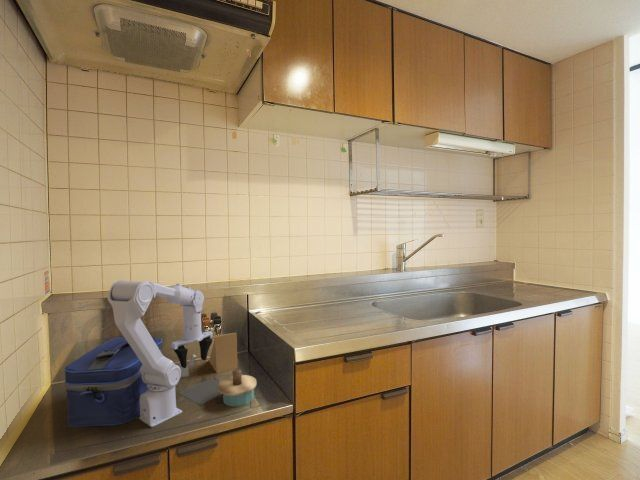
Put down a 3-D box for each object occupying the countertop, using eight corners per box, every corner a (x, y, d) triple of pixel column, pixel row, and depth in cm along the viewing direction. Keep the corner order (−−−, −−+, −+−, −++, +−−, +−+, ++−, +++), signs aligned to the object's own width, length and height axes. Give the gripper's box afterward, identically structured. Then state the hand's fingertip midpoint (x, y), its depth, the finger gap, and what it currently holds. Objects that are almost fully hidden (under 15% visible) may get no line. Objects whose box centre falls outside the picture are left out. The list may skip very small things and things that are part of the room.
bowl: (236, 410, 104) (236, 396, 104) (217, 401, 110) (216, 388, 110) (259, 397, 112) (259, 384, 112) (240, 389, 117) (240, 376, 117)
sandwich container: (228, 356, 148) (227, 322, 147) (238, 369, 134) (237, 332, 134) (208, 361, 143) (206, 326, 143) (216, 374, 130) (214, 336, 129)
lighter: (177, 379, 127) (176, 358, 126) (176, 377, 128) (176, 356, 128) (197, 375, 129) (196, 355, 129) (196, 373, 131) (196, 353, 131)
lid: (234, 399, 102) (234, 384, 102) (209, 388, 109) (209, 373, 109) (264, 383, 112) (264, 369, 112) (239, 374, 119) (239, 360, 119)
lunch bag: (127, 432, 94) (124, 360, 93) (48, 437, 93) (44, 364, 92) (169, 381, 125) (167, 326, 124) (110, 384, 124) (107, 329, 123)
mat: (200, 405, 107) (200, 404, 107) (178, 394, 115) (178, 393, 115) (233, 389, 118) (233, 388, 118) (210, 379, 126) (210, 378, 126)
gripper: (179, 332, 108) (180, 373, 108) (217, 321, 119) (218, 358, 120) (167, 328, 112) (169, 368, 112) (205, 318, 123) (206, 354, 124)
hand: (194, 363), depth 116 cm, fingers open, 7 cm apart
